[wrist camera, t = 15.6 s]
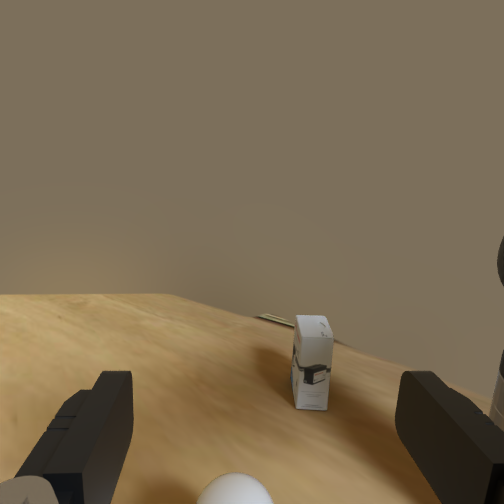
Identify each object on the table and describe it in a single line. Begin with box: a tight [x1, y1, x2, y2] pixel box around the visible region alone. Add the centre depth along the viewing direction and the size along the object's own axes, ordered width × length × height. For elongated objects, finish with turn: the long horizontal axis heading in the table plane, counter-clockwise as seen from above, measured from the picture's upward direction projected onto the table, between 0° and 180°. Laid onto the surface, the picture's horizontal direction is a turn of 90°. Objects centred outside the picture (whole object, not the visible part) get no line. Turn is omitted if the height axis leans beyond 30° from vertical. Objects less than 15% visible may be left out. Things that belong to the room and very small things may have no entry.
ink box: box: [291, 315, 334, 411], centre depth 57 cm, size 9×5×12 cm, turn 179°
